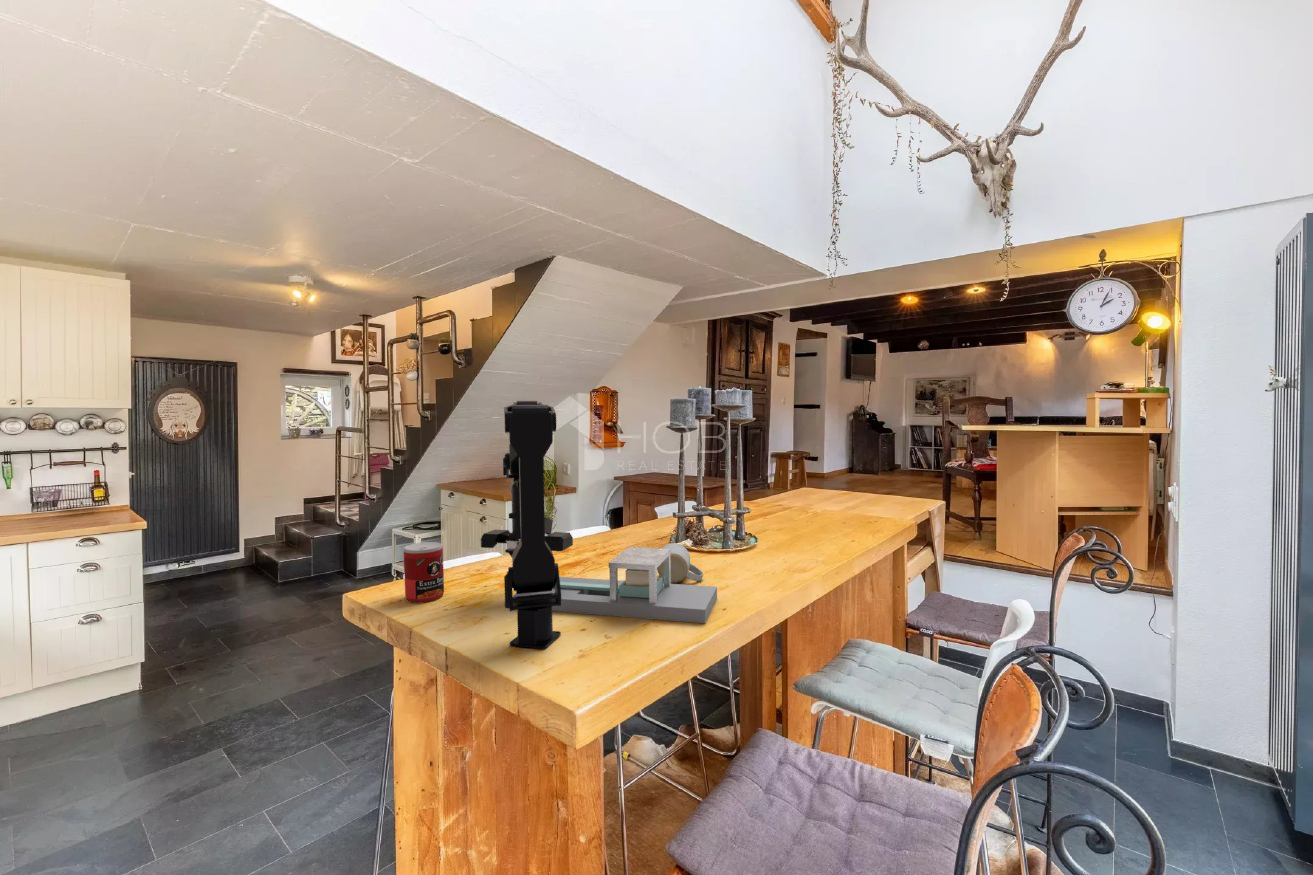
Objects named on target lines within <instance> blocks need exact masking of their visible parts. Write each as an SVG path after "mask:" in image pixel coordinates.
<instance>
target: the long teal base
mask: <svg viewBox="0 0 1313 875" xmlns="http://www.w3.org/2000/svg"><path fill="white" fill-rule="evenodd" d="M623 581H624V582H623V583H622V584H621V585H620V586H618V592H619V596H626V597H640V598H649V587H644V586H628V585H626V579H625V580H623ZM663 583H664V580H663V578H661V577H657V594H658V593H659V592H660V591H661V590H662V588H663ZM560 588H571V589H586V590H600V591H610V585H601V584H586V583H571V582H560Z"/></svg>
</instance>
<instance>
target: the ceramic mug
mask: <svg viewBox="0 0 1313 875" xmlns="http://www.w3.org/2000/svg"><path fill="white" fill-rule="evenodd" d="M662 548H663V549H671V554H670V560H671V584H678V583H681V582H682V581H683V580H684V579H685V578H687V579H688V580H691V581H694V582H701V580H702V579H703V577H704V572H703V571H702V569H700V568H699V567H697V566H696V565H694V564H692V563H691V557H690V556H691V555H690V552H689V550H688V549H687V548H686V547H685V546H684V545H681V543H680V544H679V543H676V542H670V543H668V544H665V545H664V546H663V547H662ZM657 575H659V578H663V581H664V563H663V562H662V563H661V564H660V565H659V566H658V567H657Z"/></svg>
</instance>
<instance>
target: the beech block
mask: <svg viewBox="0 0 1313 875" xmlns="http://www.w3.org/2000/svg"><path fill="white" fill-rule="evenodd" d="M625 580H626V585H628V586H644V587H649V570H639V569H625Z"/></svg>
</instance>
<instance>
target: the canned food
mask: <svg viewBox="0 0 1313 875" xmlns="http://www.w3.org/2000/svg"><path fill="white" fill-rule="evenodd" d="M403 569H404V571H403V572H404V594H405V595H404V596H405V599H406V601H407V600H408V601H407V602H409V601H410V603H412V602H424V603H430V602H429V601H431V602H433V601H432V600H434V601H437V600H440V599H441V598H442V597H444V592H445V579H444V578H445V577H444V575H445V574H444V570H445V569H444V546H443V543H441V542H437V541H424V542H417V543H412V544H408V545H406V546H404V548H403ZM440 597H441V598H440Z"/></svg>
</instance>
